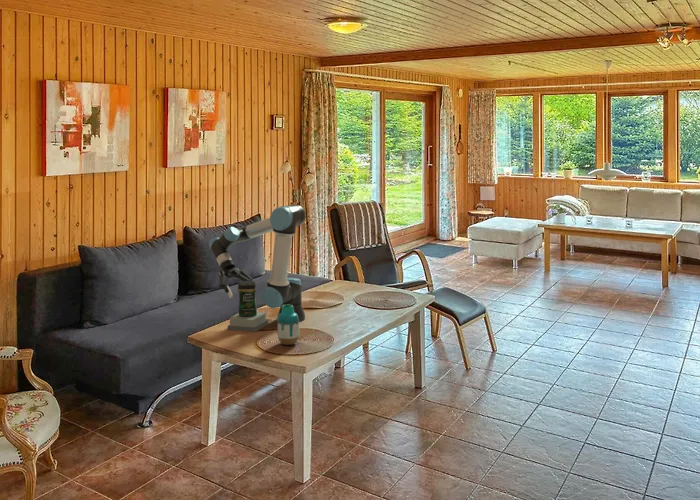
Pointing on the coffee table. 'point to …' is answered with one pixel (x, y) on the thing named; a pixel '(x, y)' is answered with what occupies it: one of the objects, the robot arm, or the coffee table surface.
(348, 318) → the coffee table surface
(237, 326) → the podium
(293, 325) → the vase
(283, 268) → the robot arm
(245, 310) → the coffee jar
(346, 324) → the coffee table surface
